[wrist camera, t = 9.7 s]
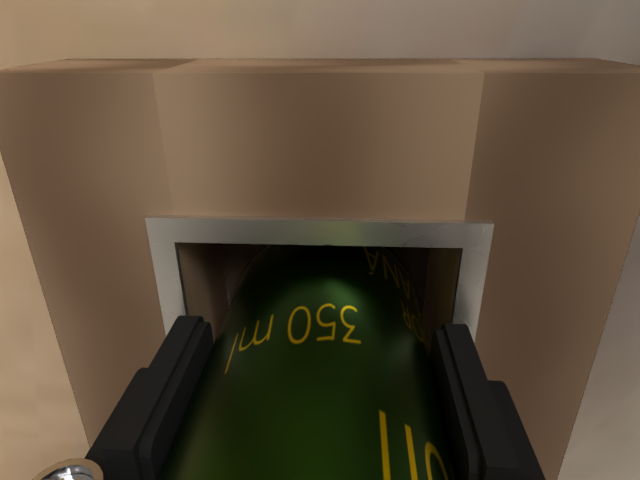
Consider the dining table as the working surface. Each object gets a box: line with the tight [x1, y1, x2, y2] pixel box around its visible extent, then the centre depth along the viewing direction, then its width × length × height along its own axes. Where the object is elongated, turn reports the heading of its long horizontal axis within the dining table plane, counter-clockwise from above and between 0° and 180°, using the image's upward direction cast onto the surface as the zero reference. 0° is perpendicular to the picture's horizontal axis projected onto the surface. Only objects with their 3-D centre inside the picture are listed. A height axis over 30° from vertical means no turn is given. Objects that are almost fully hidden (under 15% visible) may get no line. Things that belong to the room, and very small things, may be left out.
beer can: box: [157, 244, 458, 480], centre depth 9 cm, size 5×5×12 cm
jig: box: [0, 59, 640, 480], centre depth 14 cm, size 14×14×4 cm
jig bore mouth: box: [145, 215, 494, 342], centre depth 12 cm, size 8×8×1 cm
